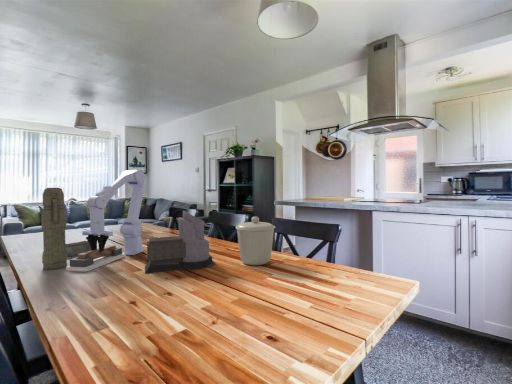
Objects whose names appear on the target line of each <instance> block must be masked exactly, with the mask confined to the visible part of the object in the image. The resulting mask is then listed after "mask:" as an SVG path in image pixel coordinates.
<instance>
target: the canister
mask: <svg viewBox="0 0 512 384" xmlns="http://www.w3.org/2000/svg"><path fill="white" fill-rule="evenodd" d="M275 228H276V226H275V225H274V224H272V223H270V222H264V221H260V218H259V216H252V217H251V221H247V222H242V223H240V224H237V225H236V226H235V229H236V233H237V242H238V251H239V256H240V260H241V261H242V263H243V264H245V265H248V266H263V265H266V264H268V263H270V260H271V257H272V252H273V251H272V249H273V242H274V241H273V240H274V231H275Z"/></svg>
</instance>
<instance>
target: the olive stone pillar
mask: <svg viewBox="0 0 512 384" xmlns="http://www.w3.org/2000/svg"><path fill="white" fill-rule="evenodd" d="M64 205H65V194H64V191H63V188H60V187H46V188H44V190H43V192H42V206H43V209H42V214H41V216H40V217H41V220H40V221H41V229H42V235H43V252H42V257H41V259H42V262H41V263H42V265H43V266H42V269H43V270H44V271H52V270H53V271H55V270H60V269H62V268H63V269H64V268H66V267H67V266H68V257H67V250H66V244H67V243H66V227H67V214H66V211H65V206H64Z"/></svg>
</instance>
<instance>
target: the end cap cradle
mask: <svg viewBox="0 0 512 384" xmlns="http://www.w3.org/2000/svg"><path fill="white" fill-rule="evenodd" d="M125 257H126V255H125V254H124V253H123V247H116V249H114V250H113V254H110V255H107V256H103V257H100V258H97V259H94V260H93V257H90V258H87V259H84V260H81V259H78V256H76V257H73V258H71V259H69V265H67V266H66V267H65V271H69V272H70V271H71V272H89V271H91V270H95V269H96V268H99V267H102V266H105V265H107V264H110V263H111V262H115V261H117V260H120V259H123V258H125Z"/></svg>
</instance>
